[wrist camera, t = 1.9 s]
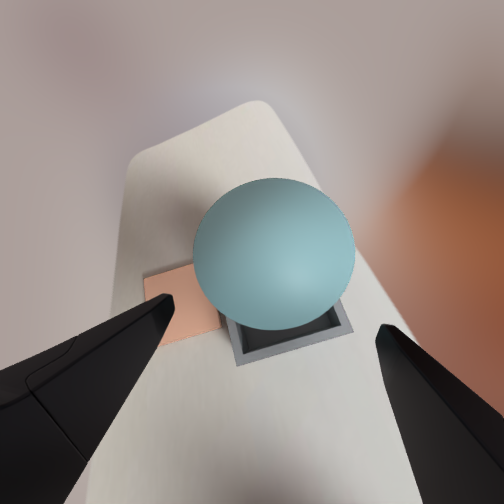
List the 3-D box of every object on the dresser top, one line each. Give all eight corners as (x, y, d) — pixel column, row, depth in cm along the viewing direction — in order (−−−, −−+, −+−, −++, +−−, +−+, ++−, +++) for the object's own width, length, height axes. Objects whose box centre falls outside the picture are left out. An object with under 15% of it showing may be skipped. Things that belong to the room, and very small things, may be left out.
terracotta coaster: (222, 327, 18) (220, 327, 18) (154, 347, 18) (149, 348, 18) (208, 261, 21) (206, 259, 20) (147, 279, 21) (143, 278, 20)
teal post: (314, 316, 17) (387, 299, 6) (257, 333, 17) (209, 352, 6) (294, 261, 19) (316, 160, 7) (242, 277, 19) (182, 203, 7)
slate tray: (340, 330, 17) (353, 332, 14) (244, 358, 17) (236, 366, 14) (304, 242, 20) (309, 226, 17) (223, 267, 20) (212, 256, 17)
